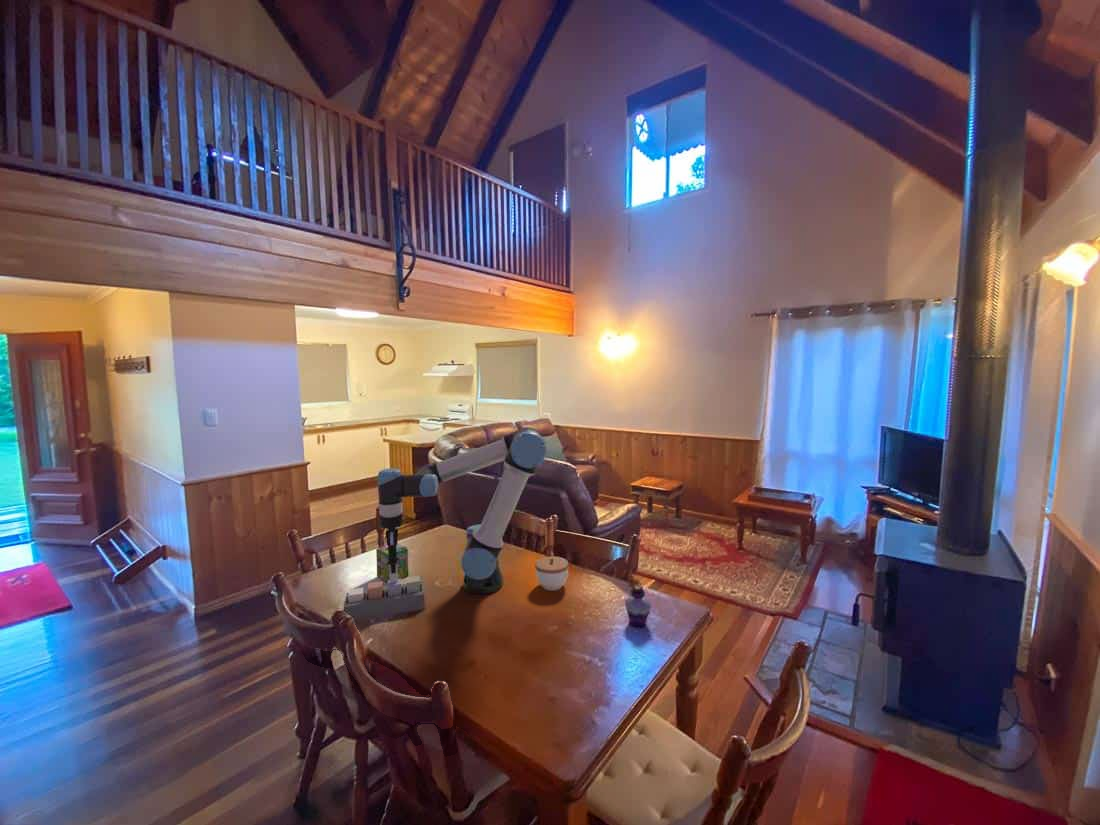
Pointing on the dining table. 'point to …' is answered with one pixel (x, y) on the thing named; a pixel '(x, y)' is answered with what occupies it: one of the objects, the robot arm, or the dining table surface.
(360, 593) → the ivory key
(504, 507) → the robot arm
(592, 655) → the dining table surface
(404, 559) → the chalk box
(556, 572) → the lidded bowl
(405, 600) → the console
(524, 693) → the dining table surface
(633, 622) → the potion bottle
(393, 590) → the slate key
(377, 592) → the terracotta key
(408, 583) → the sage key
